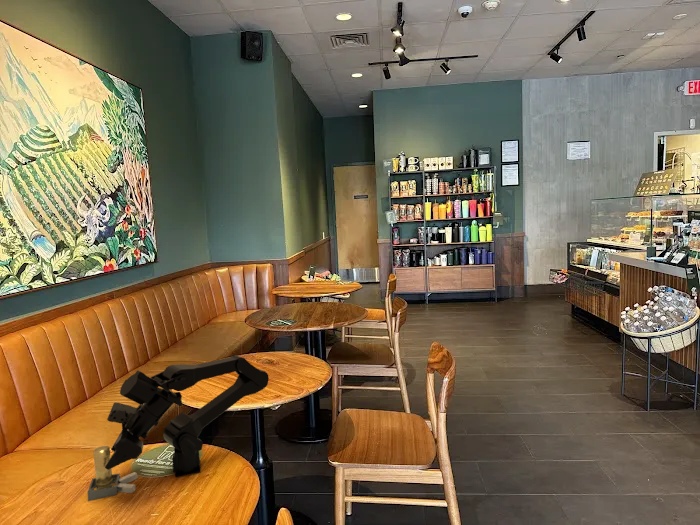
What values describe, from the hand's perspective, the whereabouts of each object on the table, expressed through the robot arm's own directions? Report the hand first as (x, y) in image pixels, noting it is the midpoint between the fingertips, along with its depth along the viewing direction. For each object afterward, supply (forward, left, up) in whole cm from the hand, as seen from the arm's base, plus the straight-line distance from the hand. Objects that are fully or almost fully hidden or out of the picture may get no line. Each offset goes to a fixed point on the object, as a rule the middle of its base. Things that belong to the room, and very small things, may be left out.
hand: (109, 459), depth 116 cm
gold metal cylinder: (+2, 0, -8) cm, 8 cm away
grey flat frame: (0, 0, -8) cm, 8 cm away
